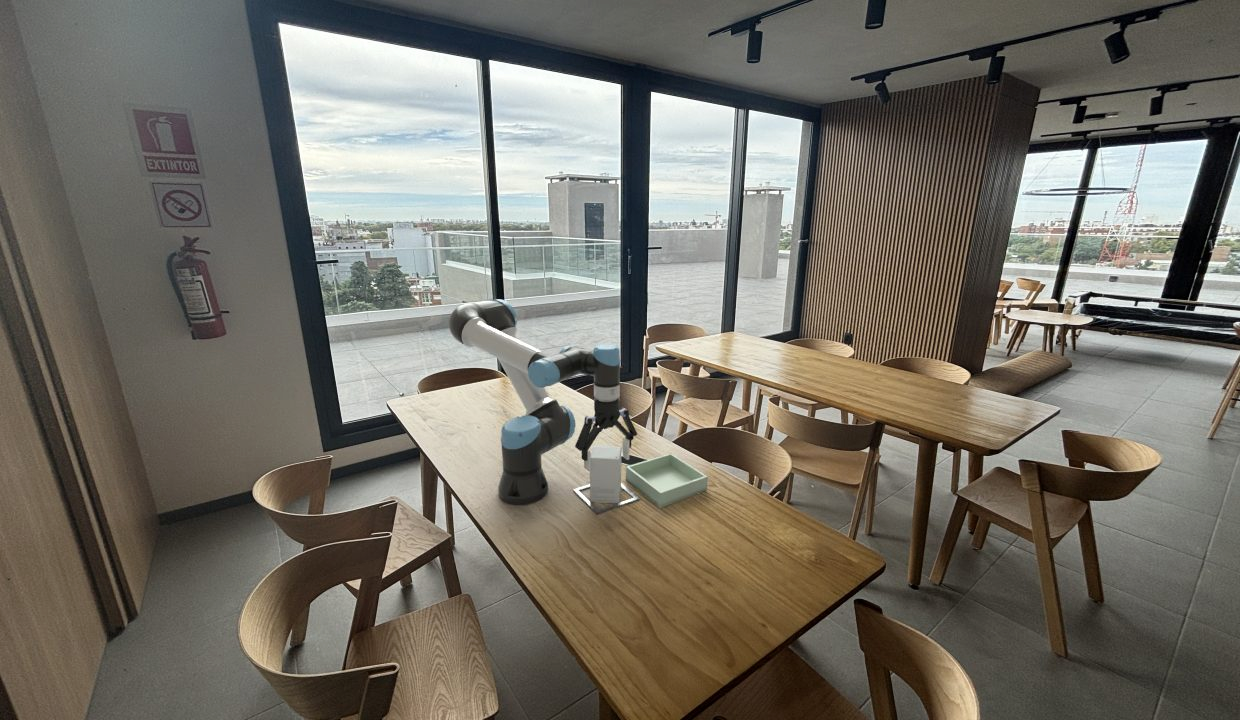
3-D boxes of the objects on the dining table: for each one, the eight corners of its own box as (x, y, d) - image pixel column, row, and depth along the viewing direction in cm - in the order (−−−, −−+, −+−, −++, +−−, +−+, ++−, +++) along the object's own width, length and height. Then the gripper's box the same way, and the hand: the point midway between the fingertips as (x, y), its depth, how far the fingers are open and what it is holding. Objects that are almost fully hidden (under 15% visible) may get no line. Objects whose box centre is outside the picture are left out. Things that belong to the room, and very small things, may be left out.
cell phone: (621, 453, 180) (621, 451, 180) (660, 464, 173) (660, 462, 172) (610, 461, 174) (610, 460, 174) (650, 473, 166) (650, 472, 166)
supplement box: (621, 488, 156) (622, 445, 152) (618, 504, 147) (619, 459, 143) (593, 486, 157) (593, 444, 153) (589, 502, 148) (588, 457, 144)
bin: (660, 508, 146) (660, 493, 144) (625, 480, 161) (626, 466, 159) (706, 490, 156) (707, 476, 154) (670, 466, 171) (671, 453, 169)
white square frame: (597, 514, 142) (597, 513, 142) (573, 490, 154) (573, 489, 154) (639, 499, 150) (639, 498, 150) (613, 478, 162) (613, 476, 162)
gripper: (574, 410, 133) (576, 479, 139) (649, 393, 146) (647, 458, 152) (562, 401, 140) (564, 469, 145) (635, 386, 153) (634, 449, 158)
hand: (607, 463), depth 149 cm, fingers open, 13 cm apart
